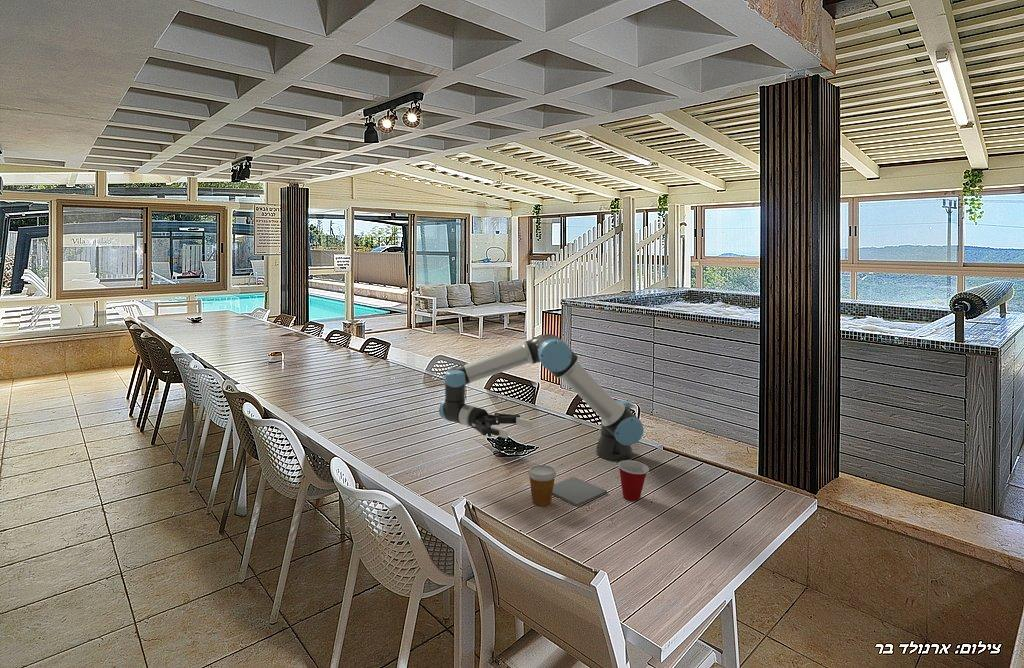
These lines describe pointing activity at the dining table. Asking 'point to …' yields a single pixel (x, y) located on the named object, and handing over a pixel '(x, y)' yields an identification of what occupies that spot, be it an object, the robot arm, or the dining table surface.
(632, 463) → the plastic cup
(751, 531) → the dining table surface
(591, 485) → the slate board
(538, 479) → the disposable coffee cup
